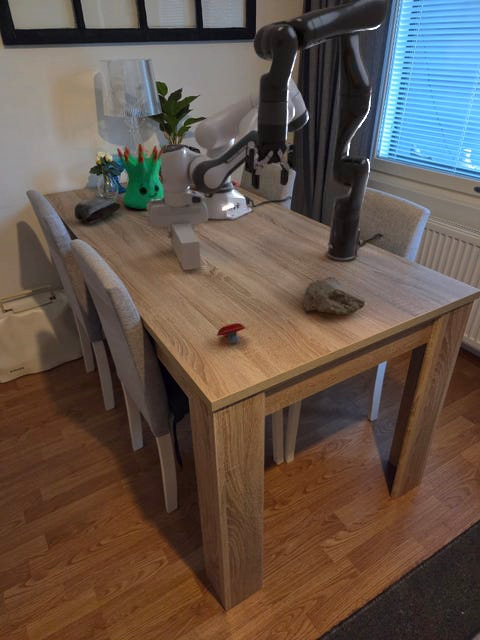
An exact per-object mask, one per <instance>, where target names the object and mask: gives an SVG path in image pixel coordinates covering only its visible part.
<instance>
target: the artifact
mask: <svg viewBox="0 0 480 640" xmlns="http://www.w3.org/2000/svg"><path fill="white" fill-rule="evenodd" d="M304 296H305V298H304V302H303V303H304V308H305V310H306V311H307V312H308V313H310V312H313V311H314V310H317V311H318V313H328V314H334V315H341V316H343V315H346V314H348V313H349V312H350V313H356V312H357V311H358V310H361V309H363V308H364V307H365V304H366V303H365V300H363V299H361V298H359V297H358V296H356V295H354V294H353V293H351V292H350V291H349V290H348V289H346V288H345V287H344V286H343V285H342V284H341V283H340V281H339V280H338V279H337V278H336V277H335V276H329V277H327V278H324V279H320V280H319V279H316V281H313V282H310V283H309V284H308V285H307V287H306V288H305V292H304Z"/></svg>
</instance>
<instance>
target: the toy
mask: <svg viewBox="0 0 480 640" xmlns="http://www.w3.org/2000/svg"><path fill="white" fill-rule="evenodd" d="M116 149H117V150H116V151H117V153H118V157H119V159H120V162H121V164H122V165H121V166H122V167H123V169H124V171H126V173H127V178H128V180H127V184H126V190H125V192H124V195H123V198H122V203H123V204H124V205H125V206H126V207H128V208H130V209H136V210H138V209H139V210H147V207H146V205H147V203H148V202H149V201H150V200H152V199H154V200H155V199H162V198H164V195H163V184H162V182H161V181H160V176H159V175H160V174H159V172H160V170H161V155H162V152H163V147H161V148H160V150H159V153H158V147H157V146H156V145H154V147H153V148H152V151H151V153H150V156H149V157H147V156H146V154H145V151H144V148H143V145H142V143H141V142H140V143H139V144H138V150H137V156H136V157H134V156H133V155H132V153H131V151H130V150H129V148H128V147H127V146H126V145H124V151H123V153H122V150H121V149H120V148H116ZM150 203H151V202H150Z"/></svg>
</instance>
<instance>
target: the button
mask: <svg viewBox="0 0 480 640" xmlns="http://www.w3.org/2000/svg"><path fill="white" fill-rule="evenodd" d="M245 329H246V326H244V325H243V324H241V323H238V322H236V323H229V324H227V325H225V326H222V327H221V328H220V329H218V331H217V333H216V336H217V337H222V336H228V342H229V343H230V344H233V345H235V344H236V343H237V342H239V337H238V336H237V333H238V332H240V331H243V330H245Z"/></svg>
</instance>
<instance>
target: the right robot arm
mask: <svg viewBox="0 0 480 640" xmlns="http://www.w3.org/2000/svg"><path fill="white" fill-rule="evenodd" d="M389 3H390V1H389V0H341V1H340V5H336V6H330V7H324V8H319V9H315V10H312V11H308V12H306V13H302V14H300V15H298V16H295V17H293V18H291V19H285V20H281V21H280V20H279V21H276V22H271V23H268V24H265V25H262V26H261V27H260V28H259V29H258V30H257V31H256V33H255V36H254V38H253V50H254V52H255V54H256V56H257V57H258V58H259V59H261V60H264V61H271V65H270V67H271V68H270V67H269V68H270V71H269V72H268V73H265V74H264V73H263V74H262V75H260V77H259V82H258V83H259V86H258V87H259V88H258V90H259V106H258V117H257V120H258V121H257V141H258V145H257V148H250V147H247V148H246V157H245V162H244V171H245V172H246V173H249V174H250V175H251V187H252V188H253V189H254V190H259V189H260V183H261V181H260V180H261V179H260V177H261V175H260V173H261V172H262V170H263V169H264V168H265V167H266V166H267V165H272V164H278V165H279V167H280V168H281V169H280V177H279V178H280V180H279V184H280V185H281V186H287V184H288V182H289V175H290V170H291V169H295V168H296V167H297V145H296V144H295V143H292V142H288V143H286V142H287V140H288V132H287V125H288V86H289V79H290V76H291V77H292V72H293V69H294V65H295V63H296V61H295V60H296V58H297V54H298V52H299V51H305V50H308V49H311V48H313V47H316V46H317V45H320V44H322V43H325V42H327V41H330V40H332V39H335V38H339V73H338V74H339V75H338V89H337V105H336V107H337V108H336V110H337V111H336V131H335V141H334V148H333V154H332V155H333V157H332V163H331V180H332V183H334V185H338V186H341V187H347V188H351V190H350V192H349V193H346V194H341V195H337V196H335V198H334V199H333V203H332V213H331V220H330V221H331V222H330V230H329V238H328V242H327V246H328V248H327V257H328V258H330V259H332V260H334V261H338V262H347V261H353V260H354V259H355V257H357V256H358V255H357V254H358V249H359V247H361V246H363V245H364V244H366V242H368V241H371V240H373V239H375V238H377V237H378V236H379V237H383V234H382V233H381V232H377V233H376V234H374V235H372V236H371V237H368V238H366V239H364V240H363V241H362V242H361V240H360V235H361V229H360V221H361V215H362V209H363V204H364V199H365V195H366V190H367V184H368V180H369V175H370V167H371V164H370V161H369V159H368V158H367V157H364V156H363V157H362V156H356V155H349V150H350V144H351V141H352V139H353V137H354V136H355V134H356V132H357V131H358V130H359V128H360V127H361V125H362V124H363V122H364V121H365V119H366V118H367V115H368V114H369V111H370V107H371V98H372V87H373V86H372V80H371V76H370V73H369V71H368V68H367V65H366V63H365V60H364V58H363V54H362V48H361V34H362V31H364V32H366V31H373V30H375V29H377V28H379V27H380V26H381V25H382V24H383V23H384V22H385V19H386V17H387V15H388V11H389ZM285 154H286V157H285ZM256 156H257V157H256ZM255 157H256V159H255ZM380 233H381V234H380Z"/></svg>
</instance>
